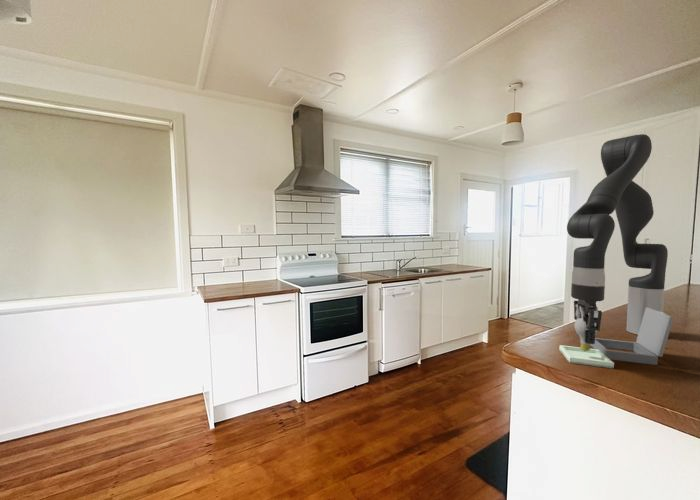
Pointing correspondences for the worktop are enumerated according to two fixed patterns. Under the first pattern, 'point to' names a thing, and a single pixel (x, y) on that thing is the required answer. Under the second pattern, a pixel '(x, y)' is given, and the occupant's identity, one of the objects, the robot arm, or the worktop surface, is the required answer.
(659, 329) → the lid
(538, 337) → the worktop surface
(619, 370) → the worktop surface
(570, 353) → the tray
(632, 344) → the case
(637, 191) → the robot arm
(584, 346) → the light bulb
